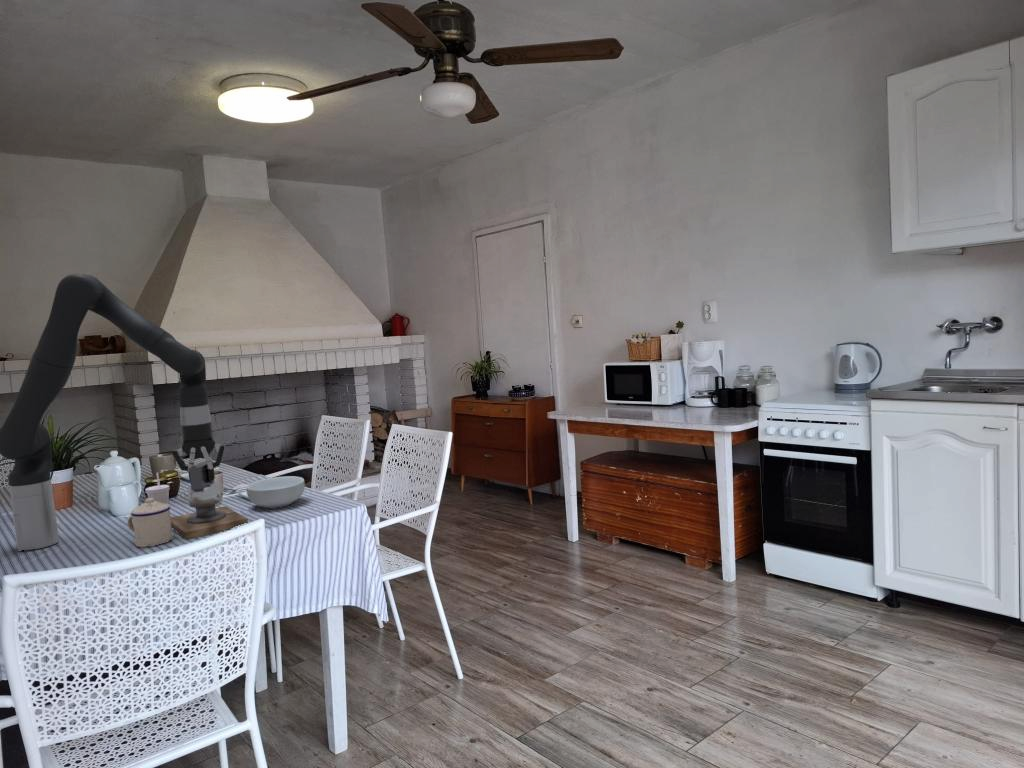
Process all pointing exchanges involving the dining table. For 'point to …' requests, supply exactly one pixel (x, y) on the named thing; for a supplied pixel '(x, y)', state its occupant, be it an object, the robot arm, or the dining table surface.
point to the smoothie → (158, 492)
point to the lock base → (206, 521)
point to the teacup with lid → (151, 523)
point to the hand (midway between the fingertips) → (202, 482)
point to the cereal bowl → (276, 491)
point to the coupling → (202, 487)
